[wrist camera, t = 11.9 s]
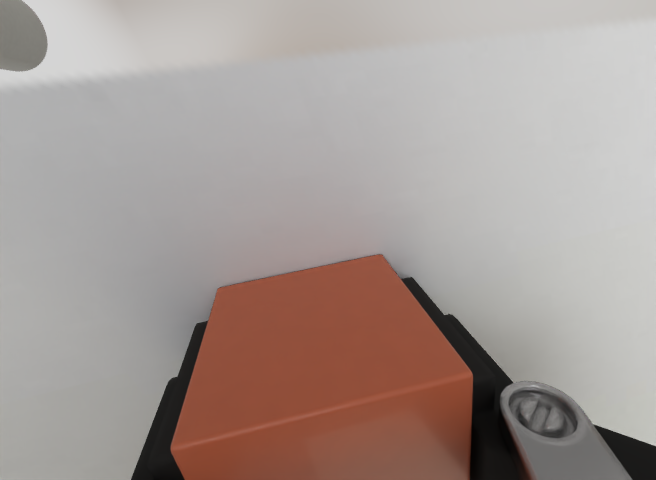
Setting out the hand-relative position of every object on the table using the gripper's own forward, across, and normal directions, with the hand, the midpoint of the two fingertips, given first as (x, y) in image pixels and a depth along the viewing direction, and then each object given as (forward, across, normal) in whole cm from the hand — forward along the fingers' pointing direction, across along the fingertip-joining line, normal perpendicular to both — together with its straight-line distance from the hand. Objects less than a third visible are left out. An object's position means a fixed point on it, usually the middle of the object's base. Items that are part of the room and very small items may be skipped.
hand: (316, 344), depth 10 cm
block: (0, 0, 0) cm, 0 cm away
